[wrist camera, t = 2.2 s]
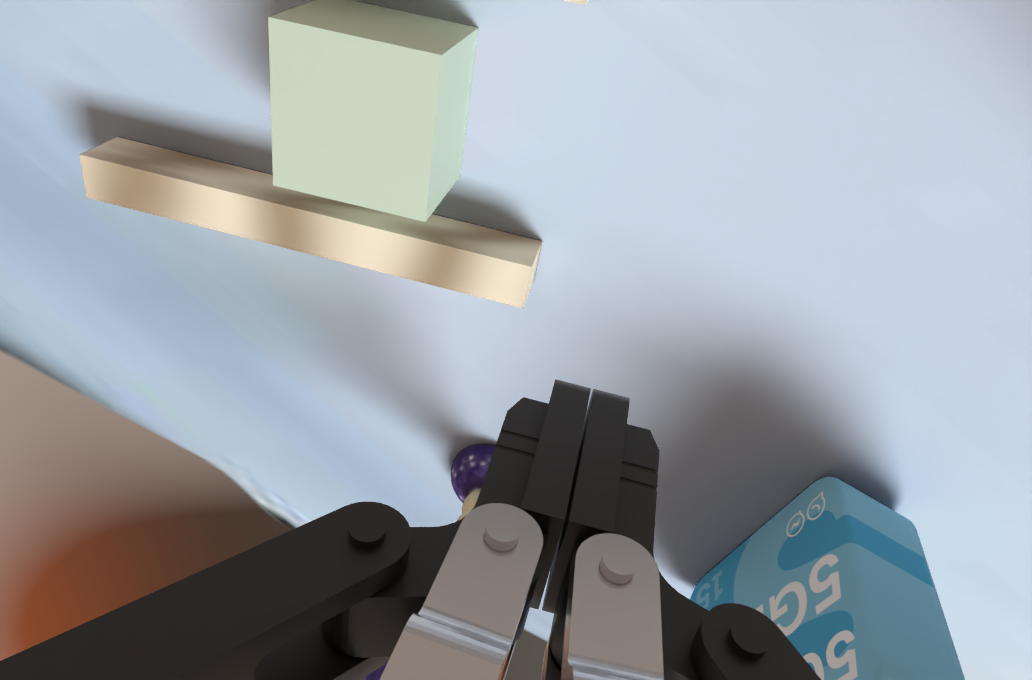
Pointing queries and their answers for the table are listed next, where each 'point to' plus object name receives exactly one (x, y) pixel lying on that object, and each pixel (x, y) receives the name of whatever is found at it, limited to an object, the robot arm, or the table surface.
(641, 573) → the robot arm
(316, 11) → the sage block
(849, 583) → the data package
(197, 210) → the parallel wooden bars
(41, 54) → the table surface
